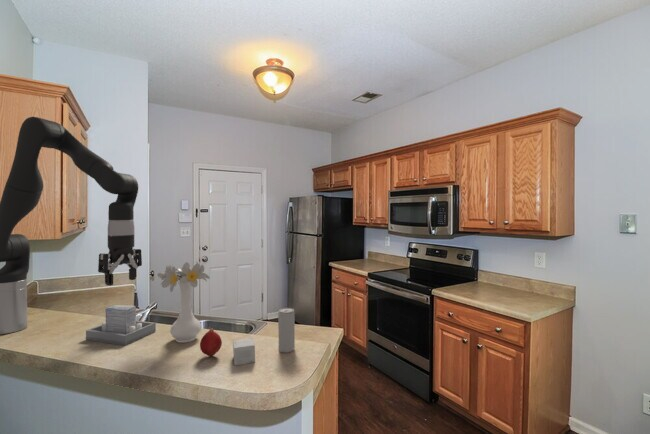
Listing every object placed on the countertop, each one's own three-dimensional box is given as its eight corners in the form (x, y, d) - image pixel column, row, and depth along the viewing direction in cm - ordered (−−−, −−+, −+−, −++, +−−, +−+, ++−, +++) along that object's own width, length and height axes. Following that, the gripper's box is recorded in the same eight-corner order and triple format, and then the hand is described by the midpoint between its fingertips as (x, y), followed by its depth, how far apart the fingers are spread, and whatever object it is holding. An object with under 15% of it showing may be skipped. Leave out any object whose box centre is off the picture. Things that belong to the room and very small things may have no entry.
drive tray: (85, 339, 104) (85, 327, 104) (119, 326, 115) (119, 315, 115) (125, 345, 99) (125, 332, 99) (155, 331, 111) (155, 320, 111)
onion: (201, 362, 88) (201, 333, 88) (198, 354, 93) (198, 327, 93) (223, 358, 91) (223, 330, 91) (219, 350, 96) (219, 323, 96)
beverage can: (297, 347, 98) (297, 308, 98) (290, 354, 93) (290, 313, 93) (282, 345, 99) (282, 307, 99) (275, 352, 95) (275, 311, 95)
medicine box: (136, 331, 109) (136, 305, 108) (126, 336, 104) (126, 309, 104) (116, 329, 110) (116, 304, 110) (105, 334, 106) (105, 308, 105)
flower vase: (177, 328, 113) (176, 258, 113) (220, 336, 107) (219, 261, 106) (144, 342, 101) (144, 263, 101) (191, 352, 95) (190, 267, 94)
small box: (233, 356, 92) (233, 339, 92) (253, 354, 94) (253, 337, 94) (233, 366, 87) (233, 347, 86) (255, 363, 88) (255, 345, 88)
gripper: (130, 232, 115) (130, 277, 115) (91, 234, 101) (91, 286, 101) (147, 232, 112) (147, 278, 113) (110, 235, 99) (110, 288, 99)
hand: (121, 282), depth 107 cm, fingers open, 8 cm apart
